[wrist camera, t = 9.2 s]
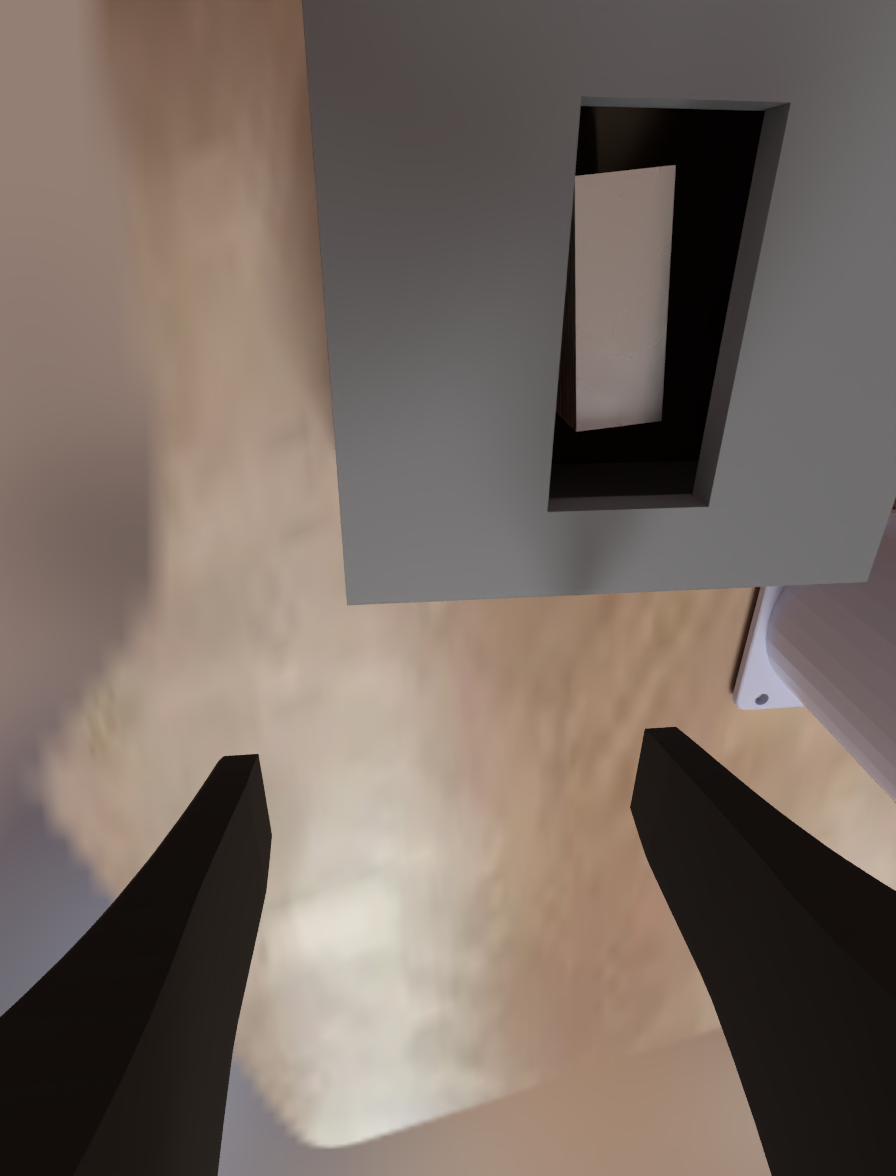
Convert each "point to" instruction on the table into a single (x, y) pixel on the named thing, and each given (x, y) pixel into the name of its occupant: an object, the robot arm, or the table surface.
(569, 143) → the coin box
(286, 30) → the table surface
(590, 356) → the block
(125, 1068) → the robot arm
